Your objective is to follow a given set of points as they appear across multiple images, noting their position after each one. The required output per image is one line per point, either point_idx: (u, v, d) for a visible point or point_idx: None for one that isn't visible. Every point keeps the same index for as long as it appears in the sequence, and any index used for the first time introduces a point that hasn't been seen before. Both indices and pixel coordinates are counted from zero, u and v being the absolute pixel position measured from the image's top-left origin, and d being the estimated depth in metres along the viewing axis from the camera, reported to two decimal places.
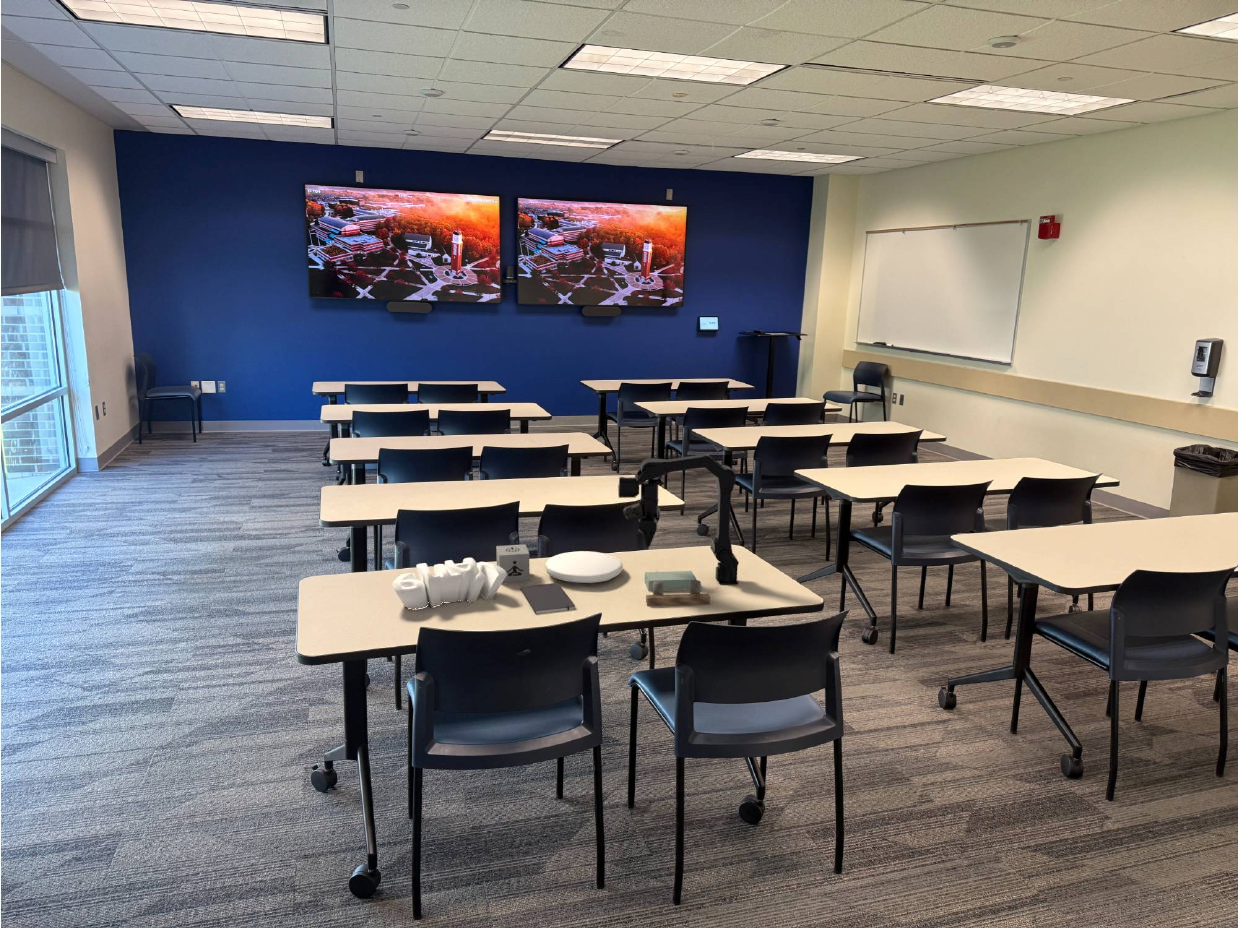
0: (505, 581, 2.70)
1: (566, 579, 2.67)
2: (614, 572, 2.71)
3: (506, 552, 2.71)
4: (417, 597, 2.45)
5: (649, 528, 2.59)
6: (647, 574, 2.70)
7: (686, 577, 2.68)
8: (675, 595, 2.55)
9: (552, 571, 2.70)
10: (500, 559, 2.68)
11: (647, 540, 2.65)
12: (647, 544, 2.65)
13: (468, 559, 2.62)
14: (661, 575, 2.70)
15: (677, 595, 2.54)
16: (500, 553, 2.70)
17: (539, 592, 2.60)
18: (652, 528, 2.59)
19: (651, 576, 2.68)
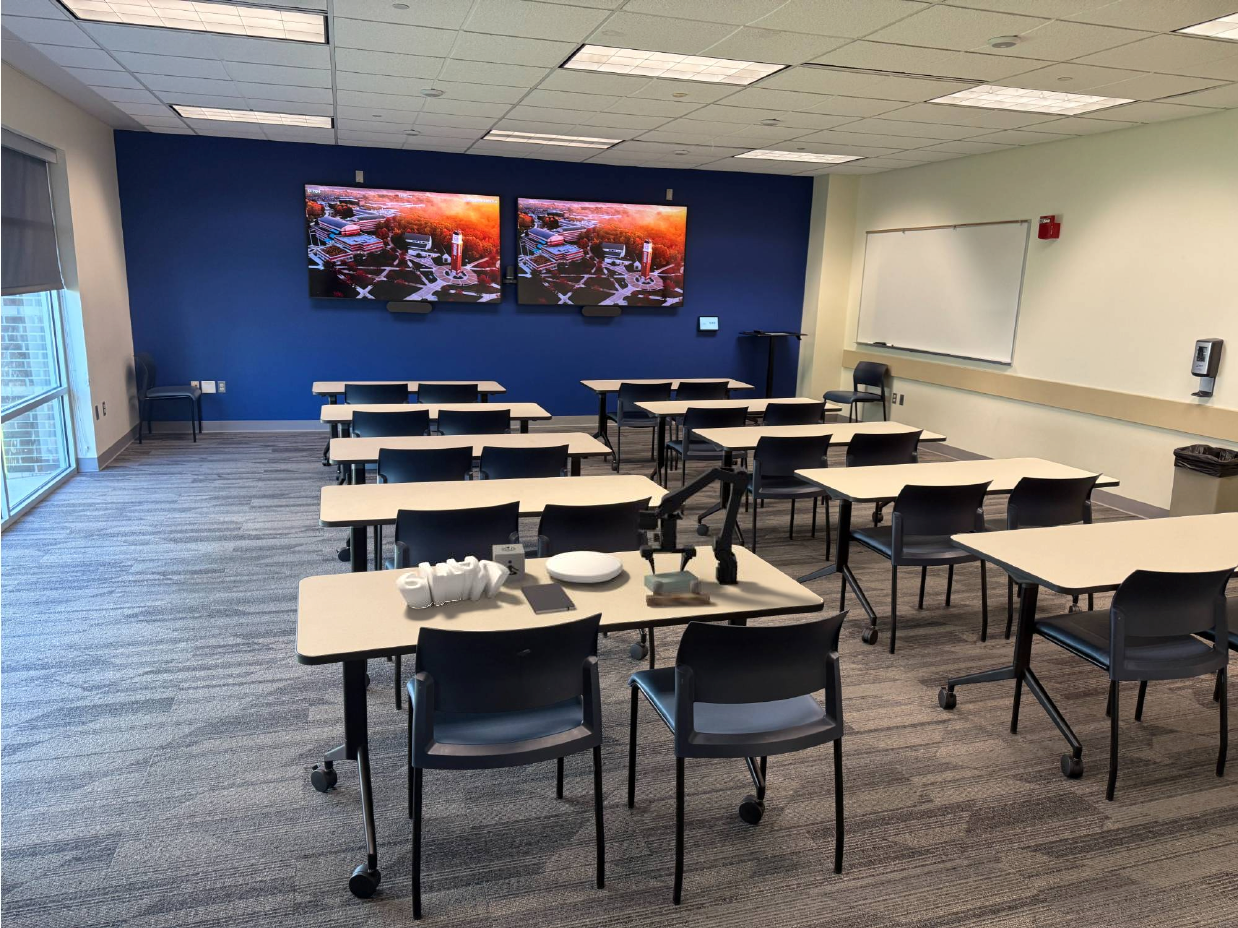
0: None
1: (566, 579, 2.67)
2: (614, 572, 2.71)
3: (502, 551, 2.71)
4: (421, 595, 2.45)
5: (640, 554, 2.72)
6: (648, 577, 2.67)
7: (687, 576, 2.69)
8: (675, 595, 2.55)
9: (552, 571, 2.70)
10: (495, 558, 2.69)
11: (652, 568, 2.75)
12: None
13: (470, 558, 2.63)
14: (663, 577, 2.68)
15: (677, 595, 2.54)
16: (496, 552, 2.70)
17: (539, 592, 2.60)
18: (641, 555, 2.71)
19: (654, 579, 2.66)
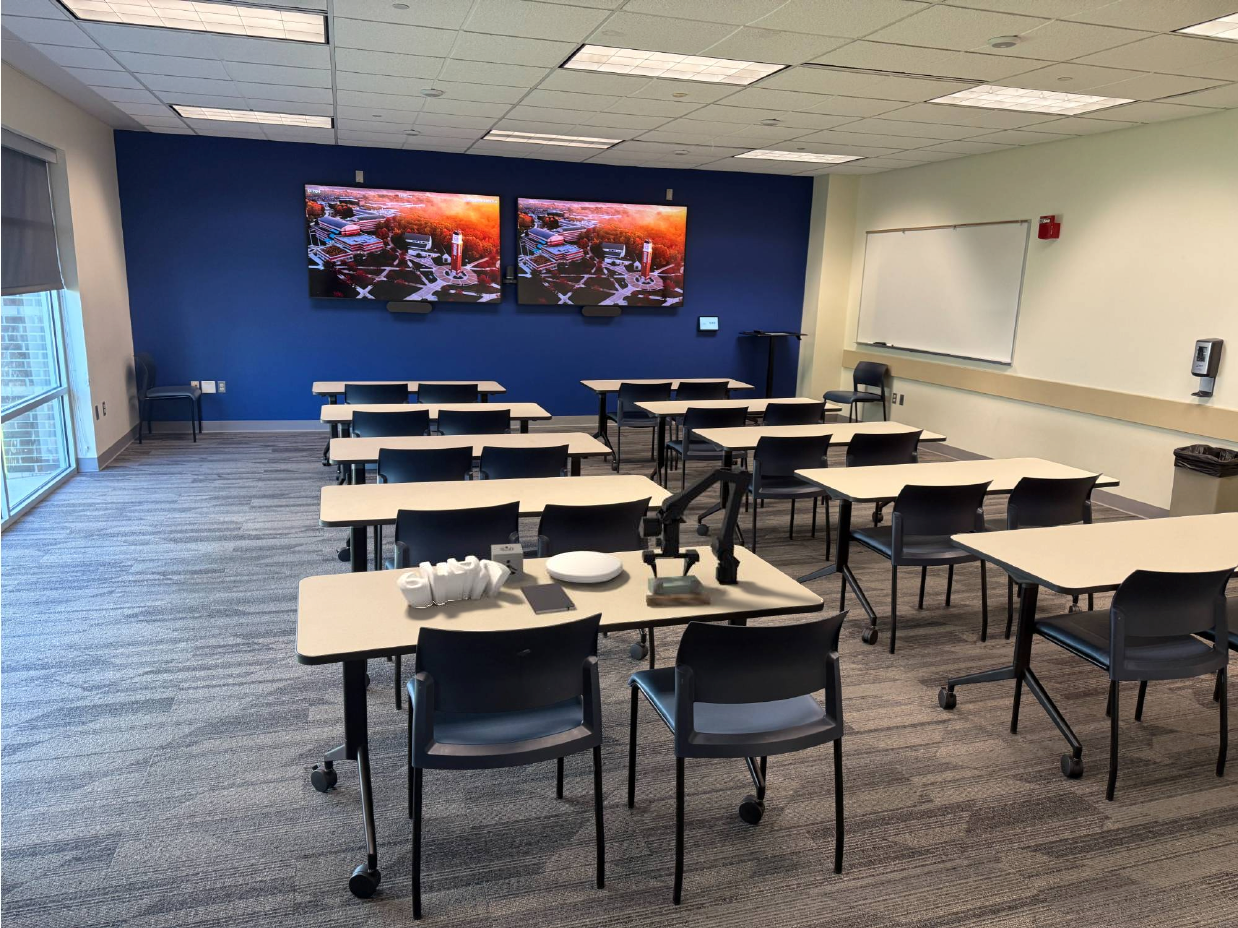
0: None
1: (566, 579, 2.67)
2: (614, 572, 2.71)
3: (500, 551, 2.72)
4: (422, 595, 2.46)
5: (642, 559, 2.67)
6: (651, 580, 2.64)
7: None
8: (675, 595, 2.55)
9: (552, 571, 2.70)
10: (494, 558, 2.69)
11: None
12: None
13: (470, 557, 2.64)
14: (666, 580, 2.64)
15: (677, 595, 2.54)
16: (494, 552, 2.71)
17: (539, 592, 2.60)
18: (643, 560, 2.66)
19: None
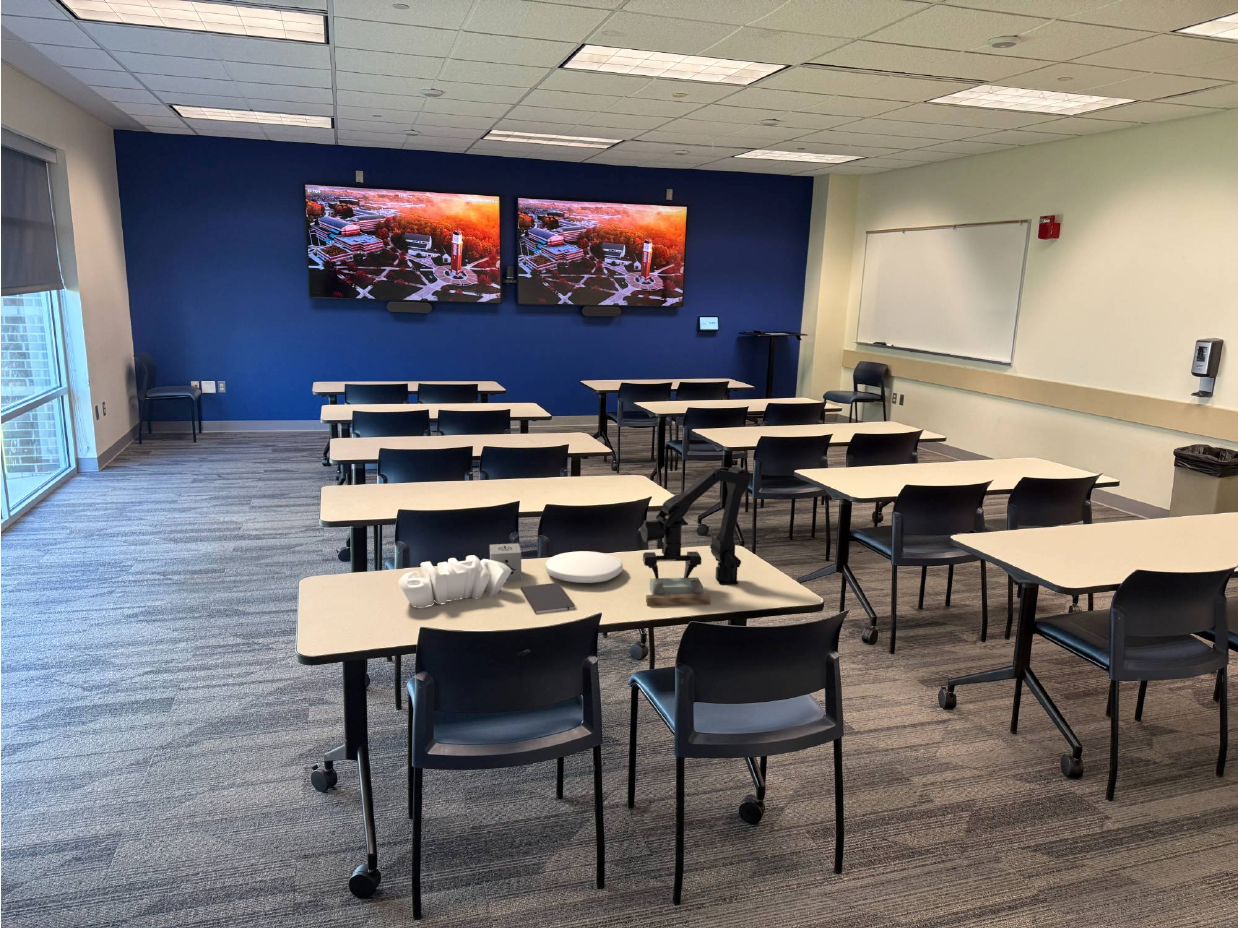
0: None
1: (566, 579, 2.67)
2: (614, 572, 2.71)
3: (498, 551, 2.72)
4: (424, 594, 2.46)
5: (644, 562, 2.65)
6: (652, 580, 2.64)
7: None
8: (675, 595, 2.55)
9: (552, 571, 2.70)
10: (492, 558, 2.69)
11: None
12: None
13: (471, 556, 2.64)
14: (667, 581, 2.63)
15: (677, 595, 2.54)
16: (492, 552, 2.71)
17: (539, 591, 2.60)
18: (644, 563, 2.64)
19: None
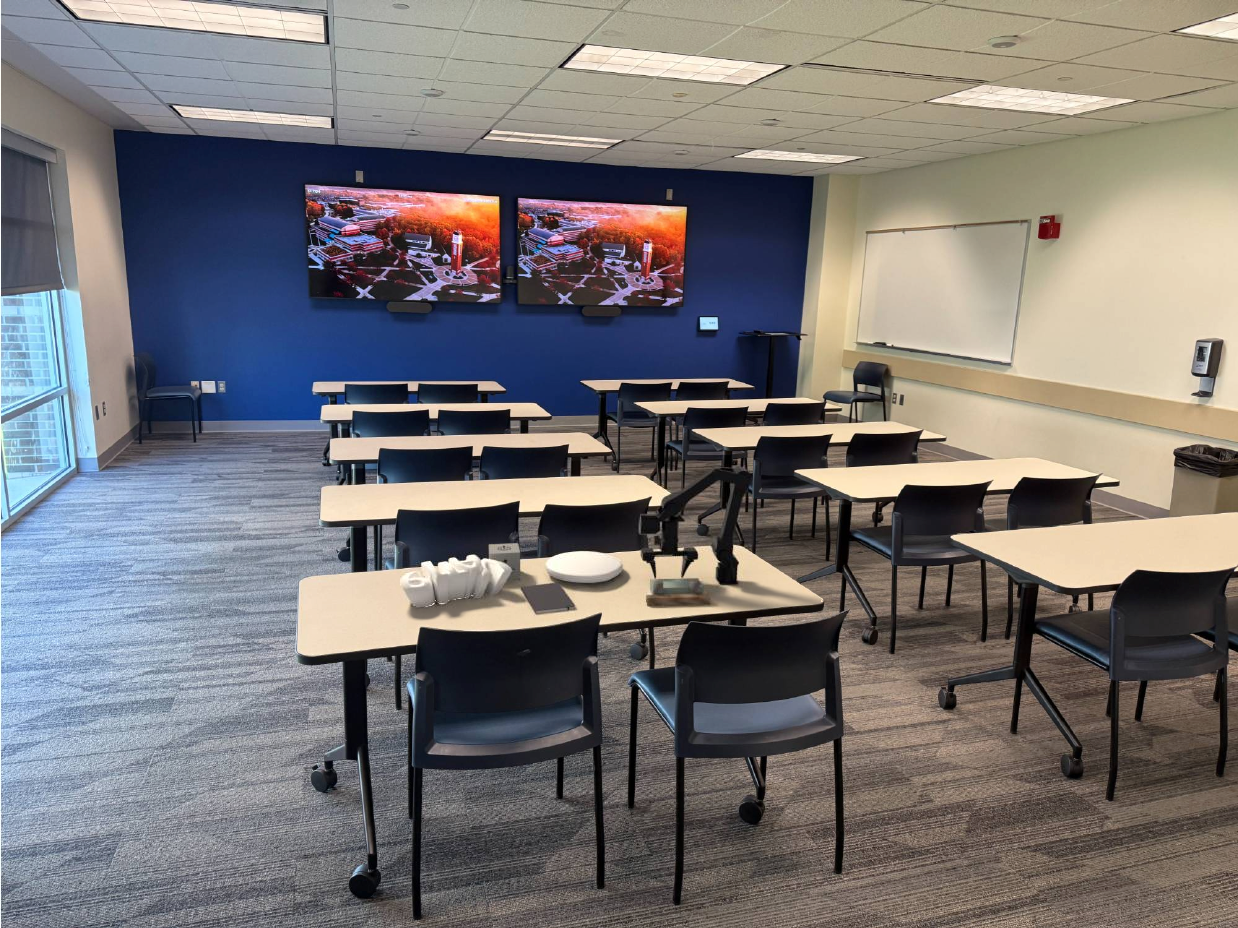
0: None
1: (566, 579, 2.67)
2: (614, 572, 2.71)
3: (497, 550, 2.72)
4: (425, 594, 2.47)
5: (642, 557, 2.69)
6: (652, 581, 2.64)
7: None
8: (675, 595, 2.55)
9: (552, 571, 2.70)
10: (491, 557, 2.69)
11: (653, 572, 2.72)
12: None
13: (472, 556, 2.65)
14: (667, 582, 2.63)
15: (677, 595, 2.54)
16: (491, 551, 2.71)
17: (539, 591, 2.60)
18: (642, 558, 2.68)
19: None
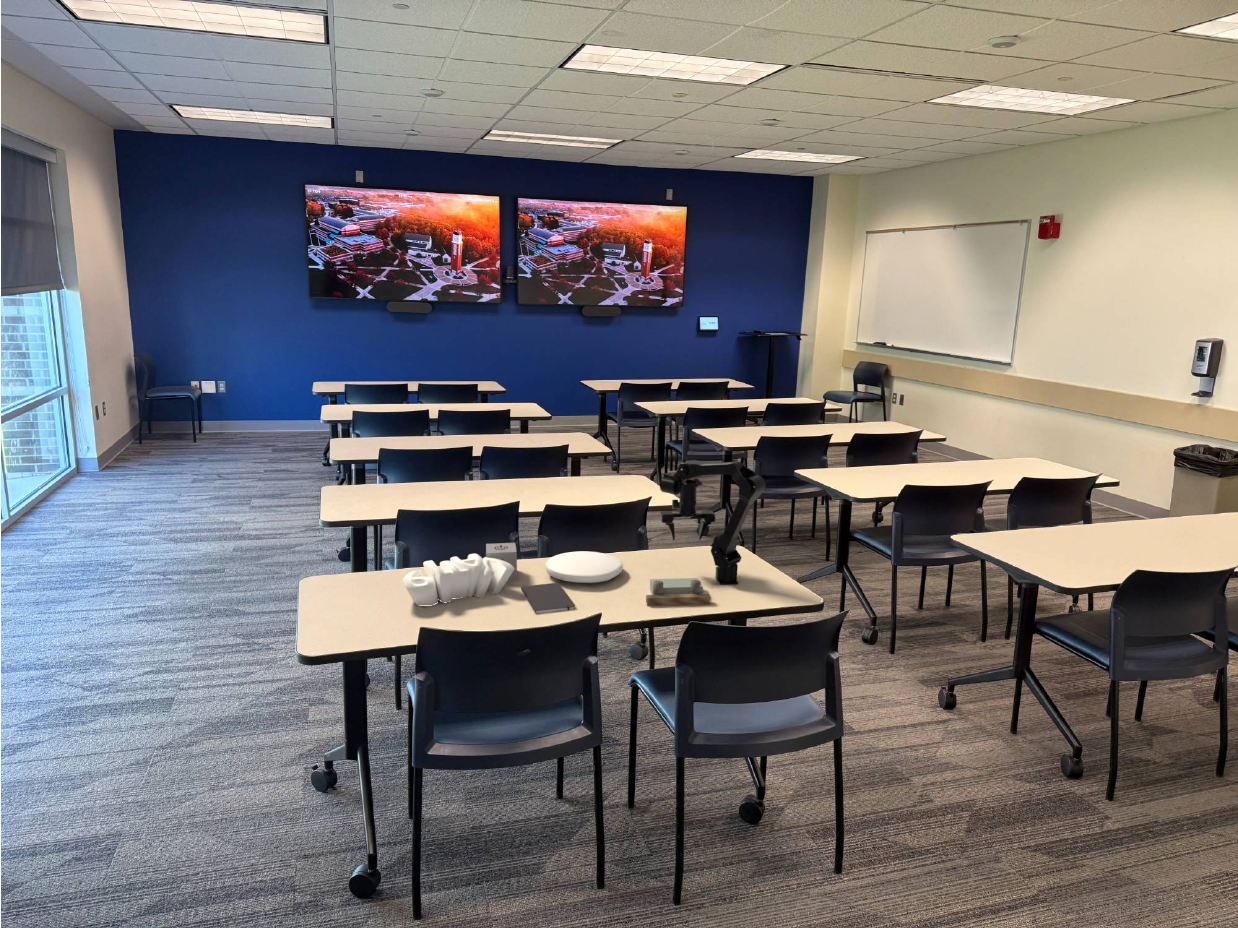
0: None
1: (566, 579, 2.67)
2: (614, 572, 2.71)
3: (494, 550, 2.73)
4: (429, 593, 2.47)
5: (661, 519, 2.80)
6: (652, 581, 2.64)
7: None
8: (675, 595, 2.55)
9: (552, 571, 2.70)
10: None
11: (671, 534, 2.82)
12: (672, 537, 2.82)
13: (473, 555, 2.66)
14: (667, 582, 2.63)
15: (677, 595, 2.54)
16: (488, 551, 2.72)
17: (539, 591, 2.60)
18: (661, 520, 2.79)
19: None
